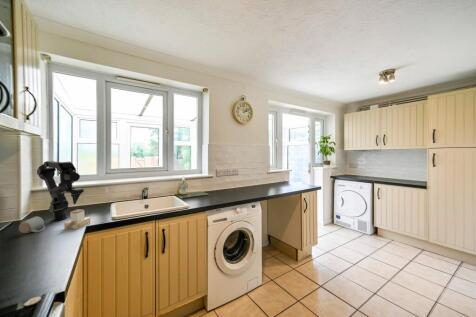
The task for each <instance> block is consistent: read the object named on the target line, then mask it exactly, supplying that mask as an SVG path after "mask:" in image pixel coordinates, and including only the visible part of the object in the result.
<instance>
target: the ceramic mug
mask: <svg viewBox="0 0 476 317" xmlns="http://www.w3.org/2000/svg"><path fill="white" fill-rule="evenodd" d="M45 229H46V225H45V221H44V220H43V218H42V217H40V216H33V217H30V218H28V219H26V220H24V221H22V222H21V223H20V224H19V226H18V230H19V232H21V233H22V234H29V233H32V232H33V233H40V232H41V233H42V232H43V231H45Z"/></svg>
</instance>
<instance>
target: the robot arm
mask: <svg viewBox="0 0 476 317" xmlns="http://www.w3.org/2000/svg"><path fill="white" fill-rule="evenodd" d="M56 170H57V171H58V175H59V181H60V182H59V183H58V184H57V183H56V180H55V179H54V177H55V175H56V174H55V173H56ZM36 174H37V176H38V177H39V178H40V179H41V180H43V182H44V183H45V185H46V188H47V190H48V192H49V194H50V197H51V200H50V203H49V204H50V205H49V207H48V212H49V213H52V219H51V220H50V221H51V222H59V221H62V220H65V219H68V218H69V217H68V216H67V213H66V210H68V209H69V201H68V200H67V197H66V196H65V193H68V194H70V196H71V198H72V204H73V205H76V204H77V202H78V199H79V198H80V196H81V195H82V194H83V193H84V192H85V191H84V190H85V189H84V188H83V187H81V188H80V187H78V188H75V187H74V186H73V184H74V183H75V182H78V181H79V180H80V178H81V175H80V174H79V173H78V172H77V168H76V167H75V166H74V163H73V162H72V161H69V160H68V161H55V160H47V161H44V162H43V164H41V165H40V166H38V168H37V170H36Z"/></svg>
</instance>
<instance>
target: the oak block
mask: <svg viewBox="0 0 476 317" xmlns="http://www.w3.org/2000/svg"><path fill="white" fill-rule="evenodd" d="M90 222H91V217H85V219H83V220H81V221H78V222H71V219H70V220H68V221H66V222H63V228H64V230H80V229H81V227H82V228H84V227H85V226H84V225H86V224H88V223H89V224H91V223H92V222H91V223H90ZM89 224H88V225H89ZM83 226H84V227H83ZM86 226H87V225H86ZM79 228H80V229H79Z"/></svg>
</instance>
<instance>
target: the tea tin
mask: <svg viewBox="0 0 476 317" xmlns="http://www.w3.org/2000/svg"><path fill="white" fill-rule="evenodd" d="M69 213H70V214H69V215H70V220H71V222H78V221H81V220H83V219H85V218H86V216H85V209H78V208H77V209H75V210H72V211H70V212H69Z"/></svg>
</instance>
